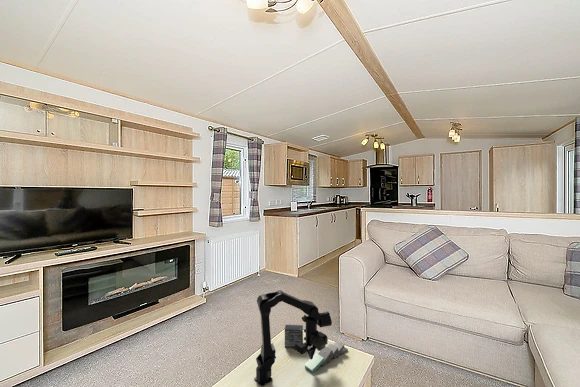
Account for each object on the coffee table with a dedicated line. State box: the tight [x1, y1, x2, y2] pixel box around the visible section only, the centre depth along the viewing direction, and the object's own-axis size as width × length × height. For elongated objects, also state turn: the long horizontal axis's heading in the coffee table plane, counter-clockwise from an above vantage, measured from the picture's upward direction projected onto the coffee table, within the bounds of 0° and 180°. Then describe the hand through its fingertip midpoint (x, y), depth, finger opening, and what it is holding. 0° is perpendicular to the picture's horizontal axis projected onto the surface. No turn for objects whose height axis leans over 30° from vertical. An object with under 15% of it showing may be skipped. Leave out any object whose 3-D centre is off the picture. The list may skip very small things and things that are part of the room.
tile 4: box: [332, 340, 346, 360], centre depth 143 cm, size 2×6×9 cm
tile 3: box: [326, 342, 338, 363], centre depth 140 cm, size 2×6×9 cm
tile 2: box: [317, 345, 333, 367], centre depth 137 cm, size 2×6×9 cm
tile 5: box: [336, 347, 349, 358], centre depth 145 cm, size 2×6×9 cm
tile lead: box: [304, 352, 324, 374], centre depth 133 cm, size 2×6×9 cm
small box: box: [284, 324, 304, 349], centre depth 152 cm, size 11×6×10 cm, turn 84°
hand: (311, 359), depth 131 cm, fingers closed
